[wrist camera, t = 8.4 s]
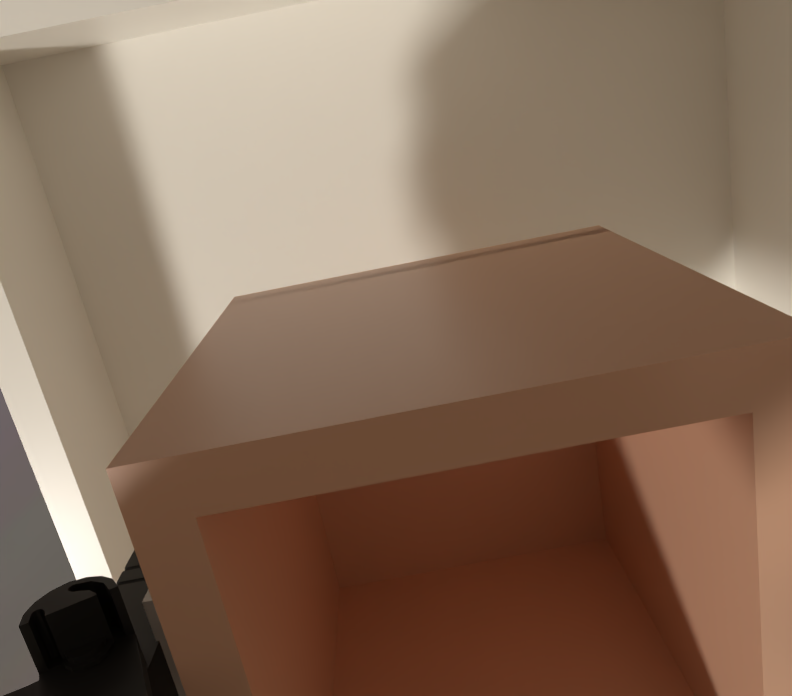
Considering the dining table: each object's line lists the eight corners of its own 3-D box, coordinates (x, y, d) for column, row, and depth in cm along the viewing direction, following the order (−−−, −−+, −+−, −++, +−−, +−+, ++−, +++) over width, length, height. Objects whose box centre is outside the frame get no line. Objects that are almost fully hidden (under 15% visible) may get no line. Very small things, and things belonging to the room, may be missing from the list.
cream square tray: (-29, 37, 20) (-148, 15, 16) (737, -121, 20) (852, -194, 15) (187, 652, 27) (150, 765, 23) (759, 545, 27) (844, 638, 22)
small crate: (234, 296, 16) (105, 468, 8) (598, 225, 15) (823, 331, 8) (316, 600, 18) (278, 954, 10) (631, 542, 18) (826, 858, 10)
